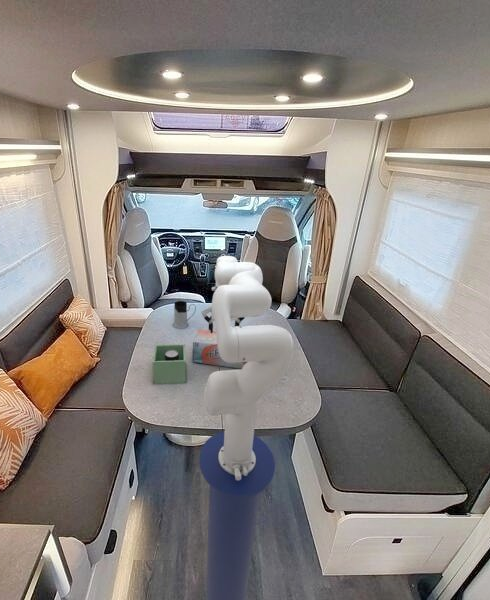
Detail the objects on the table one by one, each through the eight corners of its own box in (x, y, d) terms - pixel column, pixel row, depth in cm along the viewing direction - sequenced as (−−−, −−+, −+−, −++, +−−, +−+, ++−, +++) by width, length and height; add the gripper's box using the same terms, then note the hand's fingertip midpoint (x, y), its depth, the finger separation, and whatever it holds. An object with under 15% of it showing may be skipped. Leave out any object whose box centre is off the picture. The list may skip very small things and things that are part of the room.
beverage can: (172, 380, 145) (171, 359, 140) (162, 375, 149) (161, 353, 144) (181, 374, 150) (181, 352, 145) (171, 369, 154) (171, 348, 149)
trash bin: (185, 382, 145) (185, 361, 141) (153, 383, 144) (152, 362, 140) (185, 364, 159) (184, 344, 154) (156, 365, 158) (155, 345, 153)
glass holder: (172, 322, 201) (172, 301, 195) (194, 320, 205) (194, 299, 199) (175, 328, 193) (174, 306, 187) (197, 326, 197) (197, 304, 191)
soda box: (191, 363, 159) (191, 341, 154) (197, 349, 172) (197, 328, 167) (272, 373, 153) (275, 351, 148) (272, 358, 166) (274, 336, 161)
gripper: (202, 294, 110) (202, 336, 117) (251, 293, 111) (247, 335, 118) (201, 286, 117) (200, 327, 123) (247, 286, 118) (243, 326, 125)
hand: (223, 331), depth 121 cm, fingers open, 9 cm apart
